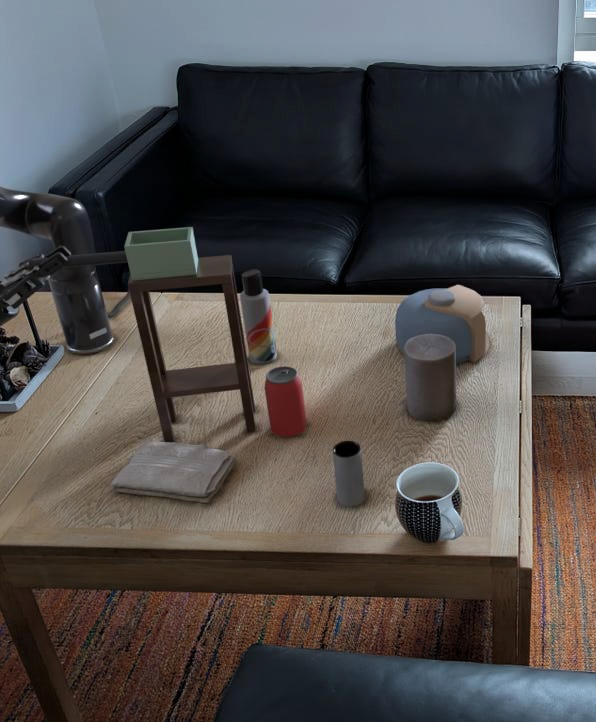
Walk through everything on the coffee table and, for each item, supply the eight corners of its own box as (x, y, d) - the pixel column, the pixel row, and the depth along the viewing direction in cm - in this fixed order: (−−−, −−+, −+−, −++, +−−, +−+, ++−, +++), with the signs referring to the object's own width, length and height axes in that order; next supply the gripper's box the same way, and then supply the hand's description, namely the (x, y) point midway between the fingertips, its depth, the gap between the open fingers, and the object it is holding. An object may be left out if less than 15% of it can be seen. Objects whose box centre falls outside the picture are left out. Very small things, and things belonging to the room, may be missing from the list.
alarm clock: (495, 364, 174) (496, 313, 168) (399, 371, 171) (397, 319, 165) (481, 320, 190) (481, 272, 184) (393, 326, 188) (391, 278, 181)
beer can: (313, 422, 156) (307, 368, 149) (295, 442, 150) (288, 387, 144) (282, 415, 157) (275, 361, 151) (264, 435, 152) (255, 380, 146)
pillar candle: (464, 400, 163) (465, 334, 155) (442, 427, 155) (441, 358, 147) (420, 388, 166) (419, 323, 158) (396, 414, 158) (393, 346, 151)
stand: (167, 418, 156) (132, 263, 140) (255, 407, 160) (231, 254, 143) (164, 443, 150) (127, 283, 133) (255, 431, 153) (230, 274, 136)
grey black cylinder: (338, 489, 139) (333, 440, 134) (365, 488, 140) (361, 439, 134) (336, 507, 136) (331, 458, 130) (364, 506, 136) (360, 456, 131)
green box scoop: (39, 274, 136) (29, 239, 133) (198, 259, 141) (192, 226, 138) (31, 290, 131) (20, 255, 128) (196, 274, 136) (190, 240, 133)
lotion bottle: (270, 366, 172) (258, 279, 162) (244, 362, 173) (231, 276, 163) (281, 352, 177) (270, 267, 167) (256, 349, 178) (243, 264, 168)
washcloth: (212, 506, 136) (209, 491, 134) (109, 495, 138) (104, 480, 136) (240, 461, 146) (237, 447, 144) (143, 451, 148) (140, 437, 146)
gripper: (-54, 314, 126) (39, 253, 124) (-29, 275, 137) (55, 219, 136) (-14, 348, 130) (76, 289, 128) (6, 308, 141) (89, 253, 140)
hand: (65, 253), depth 132 cm, fingers closed
